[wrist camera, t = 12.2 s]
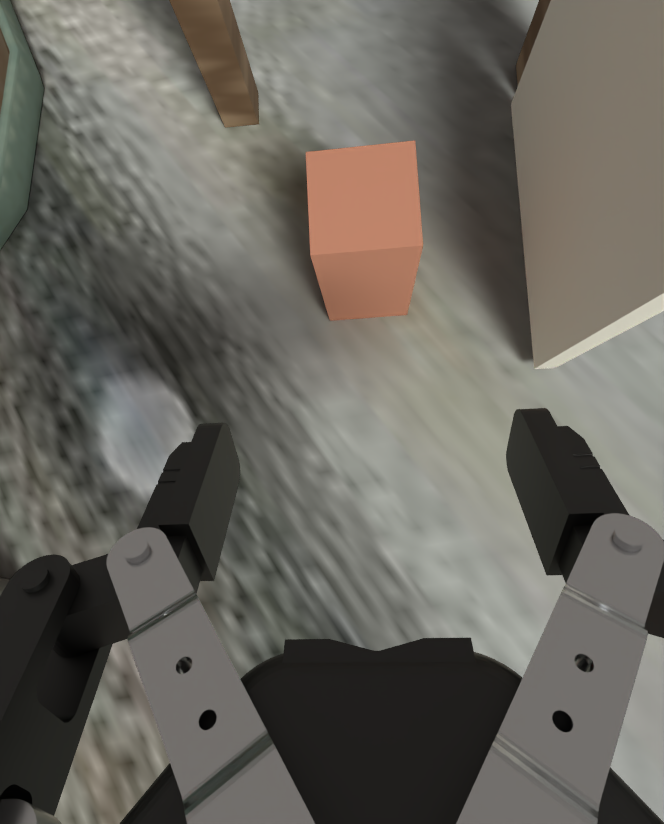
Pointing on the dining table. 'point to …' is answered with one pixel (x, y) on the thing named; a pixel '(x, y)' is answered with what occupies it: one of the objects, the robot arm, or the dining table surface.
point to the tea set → (16, 120)
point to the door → (591, 173)
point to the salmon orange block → (365, 228)
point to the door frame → (228, 64)
